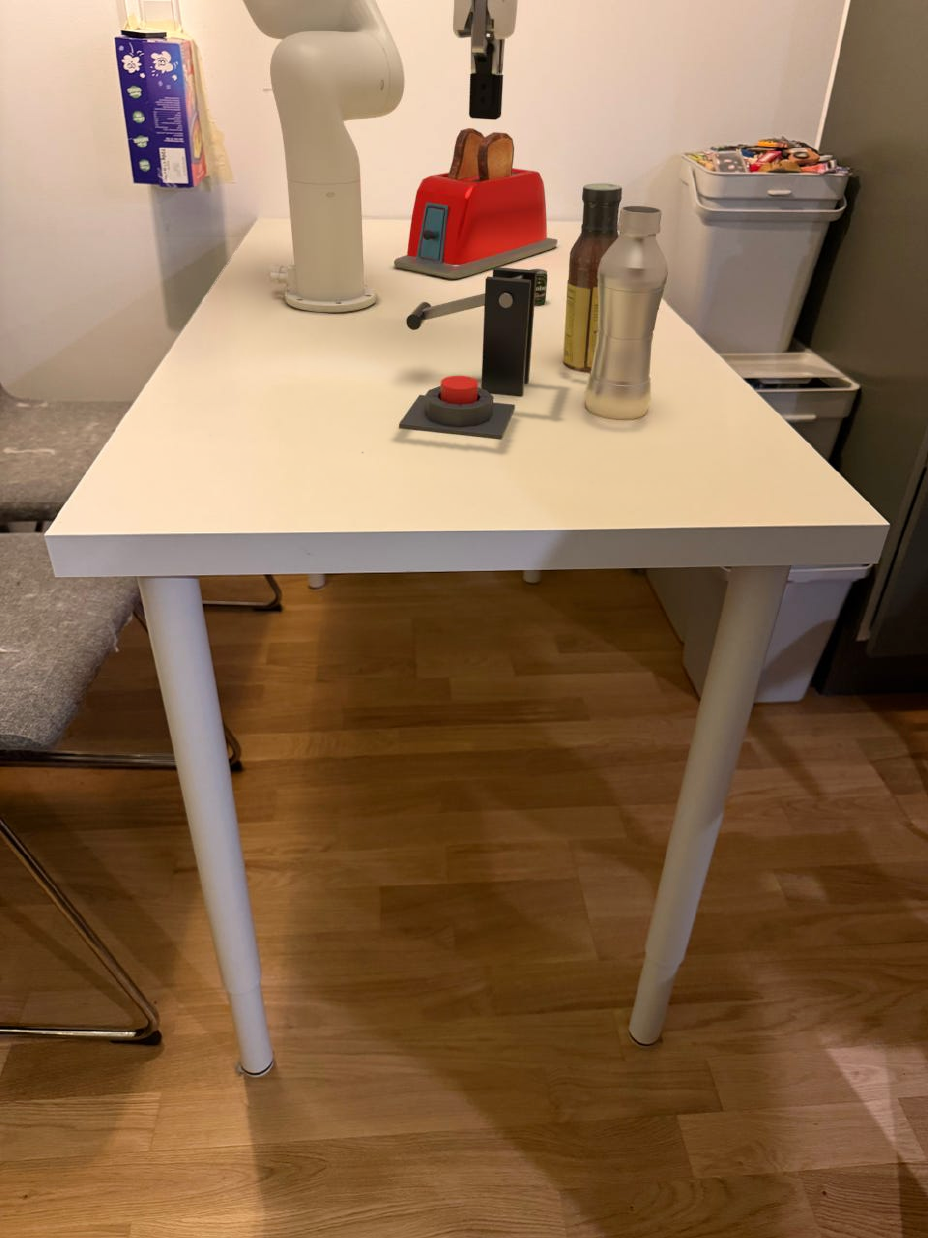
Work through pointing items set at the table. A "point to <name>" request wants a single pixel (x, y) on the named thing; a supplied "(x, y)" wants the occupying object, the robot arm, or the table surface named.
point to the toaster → (477, 211)
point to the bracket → (508, 330)
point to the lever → (444, 309)
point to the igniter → (459, 415)
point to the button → (459, 390)
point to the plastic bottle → (627, 317)
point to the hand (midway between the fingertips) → (484, 117)
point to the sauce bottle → (588, 272)
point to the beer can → (540, 286)
